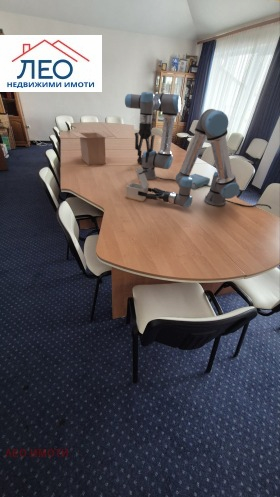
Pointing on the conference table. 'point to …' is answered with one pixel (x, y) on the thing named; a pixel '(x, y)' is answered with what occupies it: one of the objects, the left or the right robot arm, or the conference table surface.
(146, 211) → the conference table surface
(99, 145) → the box
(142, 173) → the lid
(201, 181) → the book
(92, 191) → the conference table surface
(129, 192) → the chest
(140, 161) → the laser sight
